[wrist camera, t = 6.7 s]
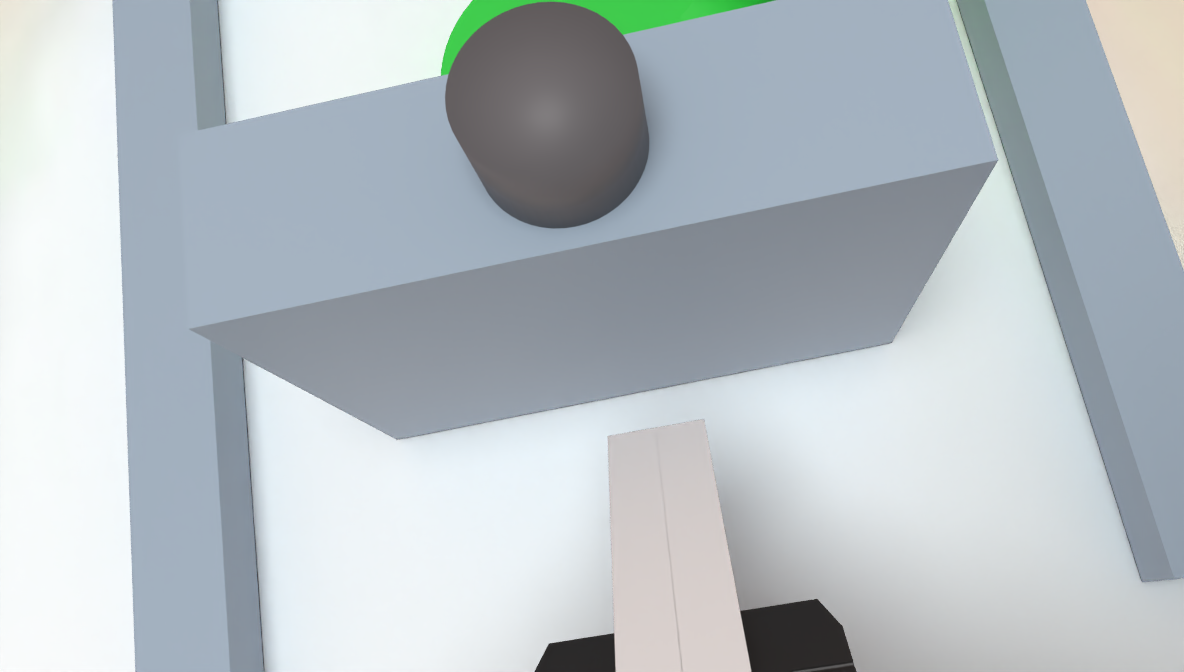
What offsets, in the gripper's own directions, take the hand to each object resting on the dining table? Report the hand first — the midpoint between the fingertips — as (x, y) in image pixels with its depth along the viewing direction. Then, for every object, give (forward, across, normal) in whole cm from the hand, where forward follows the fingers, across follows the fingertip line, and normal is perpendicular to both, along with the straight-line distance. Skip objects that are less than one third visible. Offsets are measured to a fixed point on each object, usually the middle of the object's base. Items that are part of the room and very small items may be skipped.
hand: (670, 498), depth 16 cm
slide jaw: (+7, +1, +1) cm, 7 cm away
